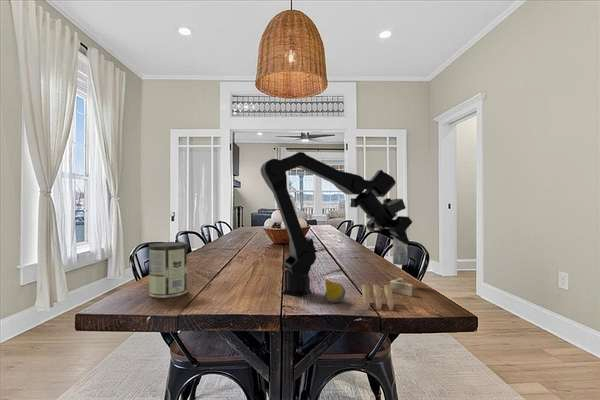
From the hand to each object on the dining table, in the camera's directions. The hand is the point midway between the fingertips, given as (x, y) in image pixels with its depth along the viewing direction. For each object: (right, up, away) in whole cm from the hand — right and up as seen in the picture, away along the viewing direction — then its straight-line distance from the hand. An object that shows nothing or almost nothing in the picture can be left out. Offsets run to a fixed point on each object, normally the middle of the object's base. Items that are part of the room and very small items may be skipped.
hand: (403, 242), depth 114 cm
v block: (-4, -13, -9) cm, 16 cm away
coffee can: (-71, -13, -12) cm, 73 cm away
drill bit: (-24, -14, -20) cm, 34 cm away
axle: (-1, -7, 0) cm, 7 cm away
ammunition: (-13, -14, -22) cm, 29 cm away
